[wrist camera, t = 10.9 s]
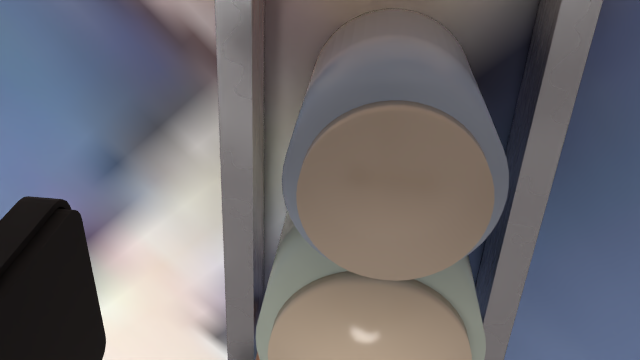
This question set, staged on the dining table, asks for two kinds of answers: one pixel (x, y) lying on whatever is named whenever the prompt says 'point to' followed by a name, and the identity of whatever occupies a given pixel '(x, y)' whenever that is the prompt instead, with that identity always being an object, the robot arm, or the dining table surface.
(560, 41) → the lane
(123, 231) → the dining table surface
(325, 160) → the jar
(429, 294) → the jar resting
